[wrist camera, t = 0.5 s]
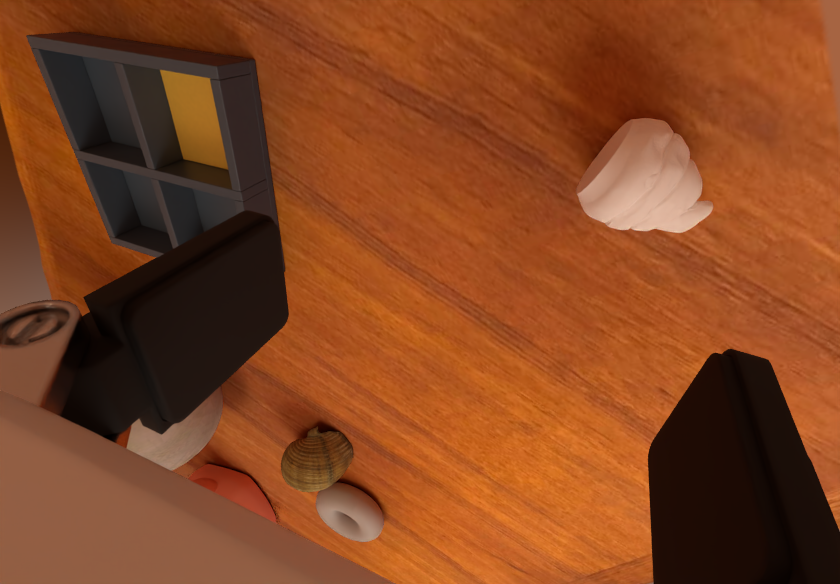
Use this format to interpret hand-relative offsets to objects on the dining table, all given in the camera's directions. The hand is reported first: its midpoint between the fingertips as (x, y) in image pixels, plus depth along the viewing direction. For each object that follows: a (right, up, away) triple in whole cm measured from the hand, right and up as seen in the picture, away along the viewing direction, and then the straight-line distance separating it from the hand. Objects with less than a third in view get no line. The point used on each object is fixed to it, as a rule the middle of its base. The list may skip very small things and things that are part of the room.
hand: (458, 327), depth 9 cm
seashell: (-13, -18, +45) cm, 50 cm away
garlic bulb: (+12, +8, +15) cm, 21 cm away
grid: (-21, +12, +27) cm, 36 cm away
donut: (-10, -28, +50) cm, 58 cm away
